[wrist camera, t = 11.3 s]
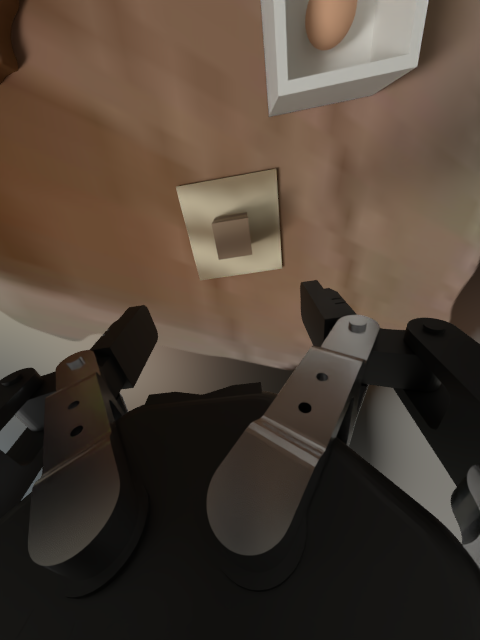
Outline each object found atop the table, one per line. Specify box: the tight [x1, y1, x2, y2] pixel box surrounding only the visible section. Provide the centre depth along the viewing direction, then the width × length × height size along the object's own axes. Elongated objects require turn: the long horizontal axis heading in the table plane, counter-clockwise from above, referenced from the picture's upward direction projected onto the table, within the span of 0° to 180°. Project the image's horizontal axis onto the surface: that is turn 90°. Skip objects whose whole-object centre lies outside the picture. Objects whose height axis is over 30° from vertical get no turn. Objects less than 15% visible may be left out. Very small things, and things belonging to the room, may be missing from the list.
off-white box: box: [261, 0, 429, 117], centre depth 18 cm, size 11×11×7 cm
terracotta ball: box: [305, 0, 357, 50], centre depth 19 cm, size 4×4×4 cm
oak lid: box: [176, 169, 282, 280], centre depth 28 cm, size 12×12×6 cm
